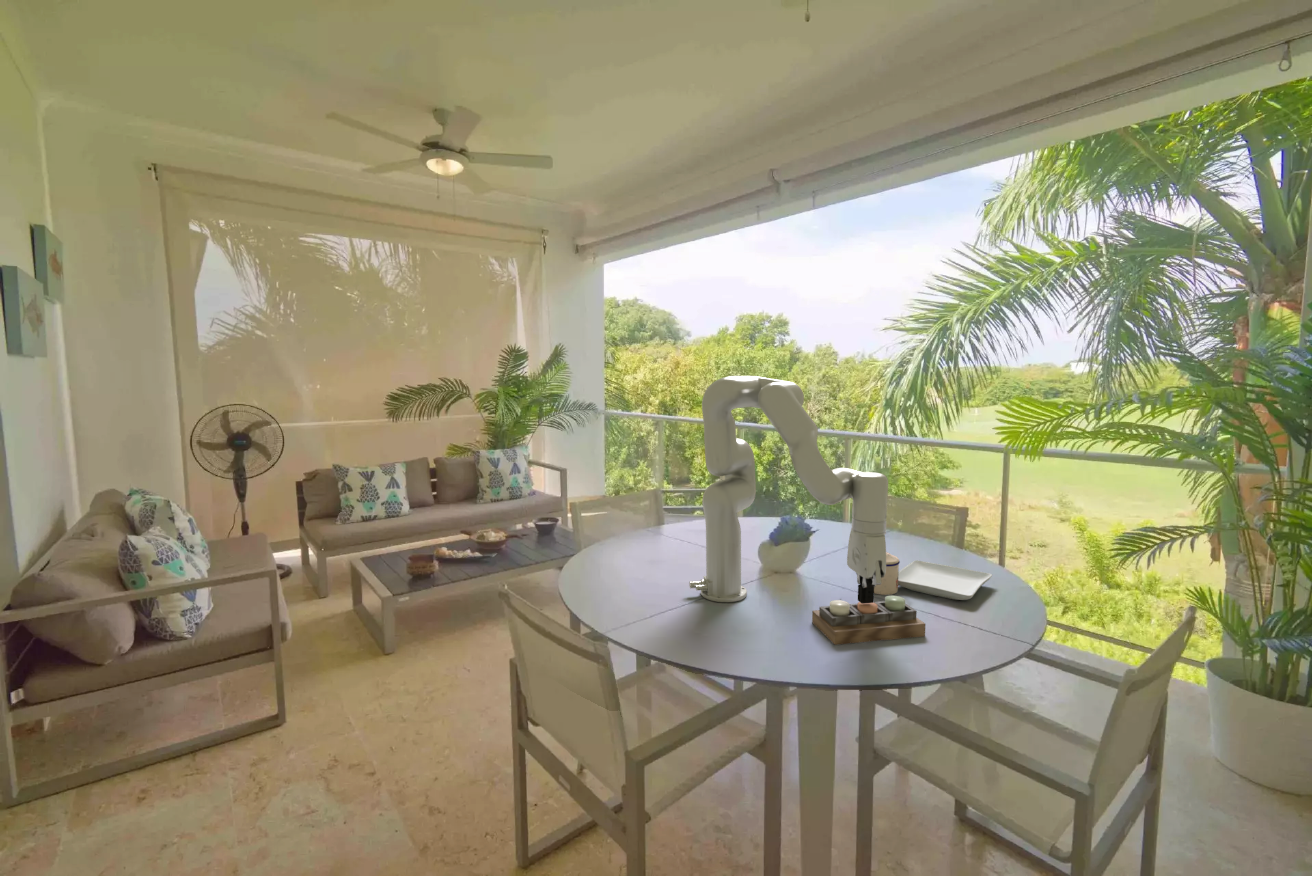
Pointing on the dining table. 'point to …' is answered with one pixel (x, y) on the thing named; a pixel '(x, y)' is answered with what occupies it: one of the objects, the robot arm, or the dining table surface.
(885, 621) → the button console
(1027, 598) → the dining table surface
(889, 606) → the sage button
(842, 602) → the cream button
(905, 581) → the salad plate
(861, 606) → the terracotta button
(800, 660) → the dining table surface
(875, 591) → the teacup with lid
